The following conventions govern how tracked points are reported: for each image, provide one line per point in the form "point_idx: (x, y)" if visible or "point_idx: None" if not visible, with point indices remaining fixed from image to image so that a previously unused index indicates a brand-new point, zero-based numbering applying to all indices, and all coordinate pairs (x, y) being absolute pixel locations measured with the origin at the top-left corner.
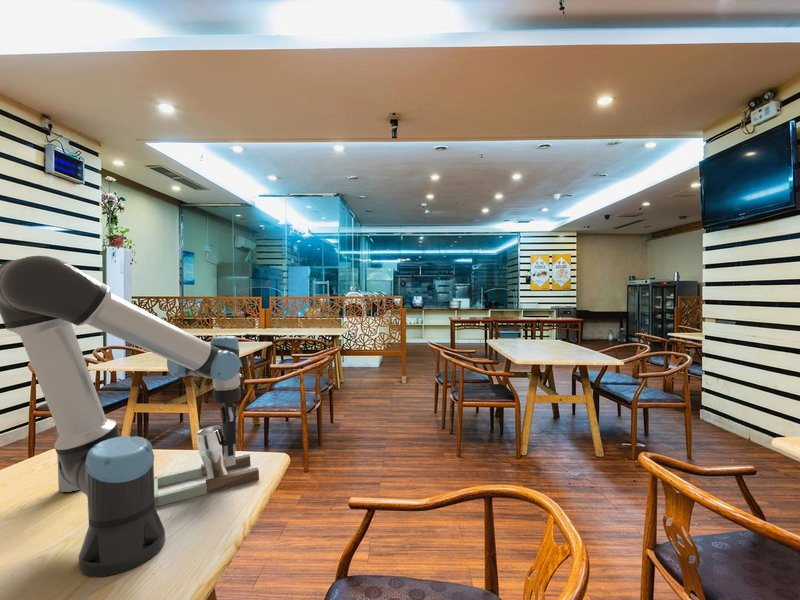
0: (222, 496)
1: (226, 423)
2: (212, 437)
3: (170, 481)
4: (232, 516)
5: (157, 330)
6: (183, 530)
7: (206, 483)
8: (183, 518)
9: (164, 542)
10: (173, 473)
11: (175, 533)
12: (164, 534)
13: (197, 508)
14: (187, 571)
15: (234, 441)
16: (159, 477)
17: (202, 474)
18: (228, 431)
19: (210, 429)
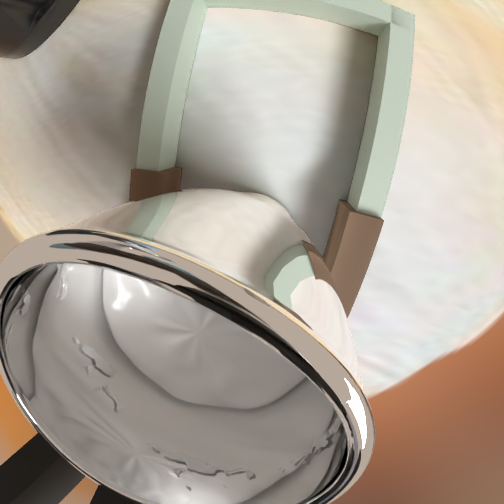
0: (103, 203)
1: (8, 487)
2: (39, 357)
3: (376, 74)
4: (18, 194)
5: None
6: (26, 88)
7: (137, 169)
8: (62, 82)
9: (15, 58)
10: (399, 86)
11: (28, 72)
12: (6, 57)
13: (81, 119)
14: None
15: None
16: (395, 31)
17: (341, 203)
18: (37, 443)
19: (314, 472)
